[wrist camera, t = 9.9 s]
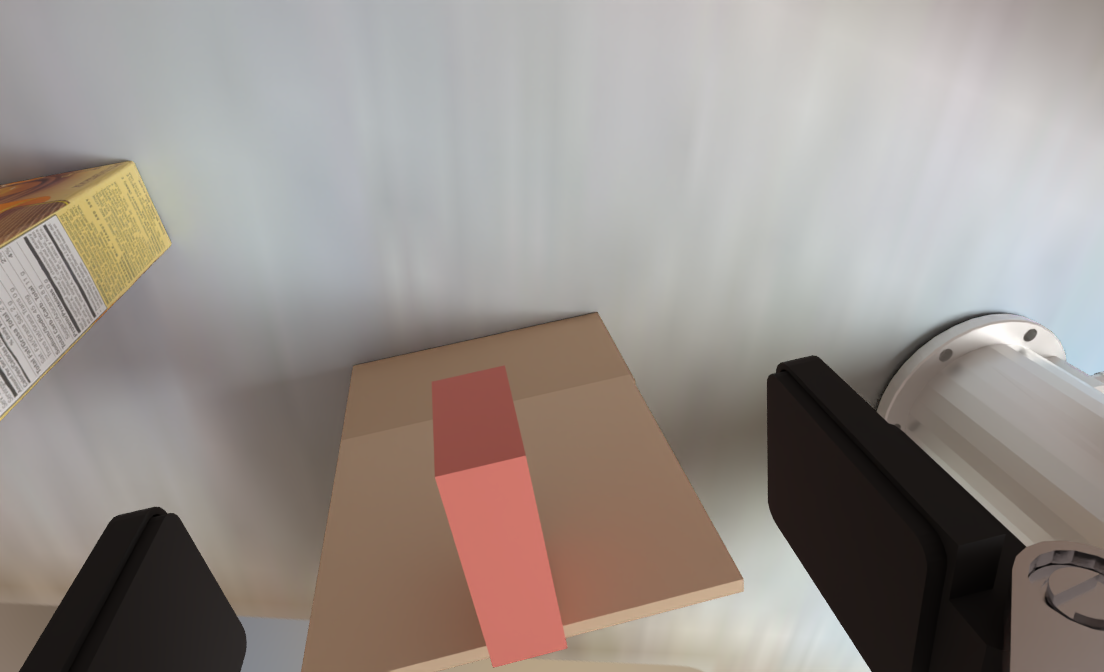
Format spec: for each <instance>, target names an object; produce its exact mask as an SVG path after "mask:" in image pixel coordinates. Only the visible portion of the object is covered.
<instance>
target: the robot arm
mask: <svg viewBox="0 0 1104 672" xmlns="http://www.w3.org/2000/svg"><path fill="white" fill-rule="evenodd" d="M767 445H768V504H769V508H770V512H771V515H772V517H773V519H774V521H775V523H776V524H777V526H778V528H779V529H780V531H781V532H782V534H783V535H784V537H785V538H786V540H787V541H788V543H789V545H790V546H791V548H792V549H793V551H794V552H795V554H796V555H797V557H798V558H799V560H800V562H801V563H802V565H803V566H804V568H805V569H806V571H807V572H808V574H809V575H810V577H811V579H812V580H813V582H814V583H815V585H816V586H817V588H818V589H819V591H820V592H821V594H822V596H823V597H824V599H825V600H826V602H827V603H828V605H829V606H830V608H831V610H832V611H833V613H834V614H835V616H836V617H837V619H838V620H839V622H840V623H841V625H842V627H843V628H844V630H845V631H846V633H847V634H848V636H849V637H850V639H851V640H852V642H853V644H854V645H855V647H856V648H857V650H858V651H859V653H860V654H861V656H862V657H863V659H864V661H865V662H866V664H867V665H868V667H869V668H870V670H871V671H872V672H1104V371H1103V372H1099V373H1095V374H1094V375H1091V376H1090V375H1088V374H1086V373H1085V372H1083V371H1081V370H1079V369H1078V368H1076V367H1074V366H1073V365H1071V364H1069V363H1067V362H1066V354H1065V351H1064V349H1063V346H1062V344H1061V342H1060V340H1059V339H1058V338H1057V337H1056V336H1055V334H1054V333H1053V332H1052V331H1050V330H1049V329H1047V328H1045V327H1044V326H1042V325H1041V324H1039V323H1037V322H1035V321H1033V320H1031V319H1028V318H1026V317H1024V316H1019V315H1013V314H990V315H986V316H982V317H978V318H973V319H970V320H968V321H965V322H963V323H960V324H958V325H955V326H953V327H951V328H950V329H948V330H946V331H944V332H943V333H941V334H939V335H937V336H936V337H934V338H933V339H931V340H930V341H929V342H927V343H926V344H925V345H924V346H922V347H921V348H920V349H918V350H917V351H916V352H915V353H914V354H913V355H912V356H911V357H910V358H909V359H908V360H907V361H906V362H905V363H904V364H903V365H902V367H901V368H900V369H899V371H898V372H897V373H896V374H895V376H894V377H893V378H892V380H891V381H890V383H889V385H888V387H887V388H886V390H885V392H884V394H883V395H882V398H881V401H880V403H879V406H878V409H877V412H876V411H875V410H874V409H873V408H872V407H871V406H870V405H869V404H868V403H867V402H866V401H865V400H864V399H863V398H861V397H860V396H859V395H858V394H857V393H856V392H855V391H854V390H853V389H852V388H851V387H850V386H849V385H848V384H847V383H846V382H845V381H843V380H842V379H841V378H840V377H839V376H838V375H837V374H836V373H835V372H834V371H833V370H832V369H831V368H830V367H829V366H828V365H827V364H826V363H824V362H823V361H822V360H821V359H820V358H819V357H817V356H813V355H812V356H808V357H804V358H799V359H795V360H791V361H786V362H782V363H780V364H778V366H777V369H776V373H774V374H770V375H769V376H768V379H767ZM245 652H246V634H245V631H244V628H243V626H242V624H241V622H240V621H239V619H238V617H237V616H236V614H235V612H234V610H233V609H232V607H231V605H230V604H229V602H228V600H227V598H226V597H225V595H224V593H223V592H222V590H221V588H220V586H219V585H218V583H217V581H216V580H215V578H214V576H213V574H212V573H211V571H210V569H209V568H208V566H207V564H206V562H205V561H204V559H203V557H202V556H201V554H200V552H199V550H198V549H197V547H196V545H195V544H194V542H193V540H192V538H191V537H190V535H189V533H188V532H187V530H186V528H185V527H184V525H183V523H182V521H181V520H180V518H179V517H178V516H177V515H176V514H174V513H169V514H167V513H166V511H165V510H163V509H162V508H160V507H152V508H148V509H143V510H139V511H134V512H130V513H126V514H121V515H118V516H116V517H114V518H113V519H112V520H111V521H110V522H109V524H108V525H107V527H106V529H105V530H104V532H103V534H102V535H101V537H100V539H99V540H98V542H97V544H96V545H95V547H94V549H93V550H92V552H91V554H90V555H89V557H88V559H87V560H86V562H85V563H84V565H83V567H82V568H81V570H80V572H79V573H78V575H77V577H76V578H75V580H74V582H73V583H72V585H71V587H70V588H69V590H68V592H67V593H66V595H65V597H64V598H63V600H62V602H61V603H60V605H59V606H58V608H57V610H56V611H55V613H54V615H53V617H52V618H51V620H50V621H49V623H48V625H47V627H46V628H45V630H44V632H43V633H42V635H41V636H40V638H39V640H38V641H37V643H36V645H35V646H34V648H33V650H32V651H31V653H30V654H29V656H28V658H27V660H26V661H25V663H24V665H23V666H22V668H21V669H20V671H19V672H240V671H241V667H242V664H243V660H244V657H245Z"/></svg>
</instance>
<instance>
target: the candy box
mask: <svg viewBox="0 0 1104 672" xmlns="http://www.w3.org/2000/svg"><path fill="white" fill-rule="evenodd" d="M170 246H171V241H170V239H169V237H168V235H167V233H166V231H165V229H164V226H163V224H162V222H161V220H160V218H159V216H158V214H157V211H156V209H155V207H154V205H153V203H152V201H151V199H150V196H149V194H148V192H147V190H146V188H145V185H144V183H143V181H142V179H141V177H140V174H139V172H138V170H137V168H136V166H135V163H134V162H133V161H127V162H122V163H116V164H111V165H106V166H100V167H95V168H89V169H84V170H78V171H72V172H67V173H61V174H56V175H50V176H45V177H40V178H35V179H30V180H25V181H19V182H14V183H9V184H4V185H0V421H1V420H2V419H3V418H4V417H5V416H6V415H7V414H8V412H9V411H10V410H11V409H12V408H13V407H14V406H15V405H16V404H17V403H18V402H19V401H20V400H21V399H22V398H23V397H24V396H25V395H26V394H27V393H28V392H29V391H30V390H31V389H32V388H33V387H34V386H35V385H36V384H37V383H38V381H39V380H40V379H41V378H42V377H43V376H44V375H45V374H46V373H47V372H48V371H49V370H50V369H51V368H52V367H53V366H54V365H55V364H56V363H57V362H58V361H59V360H60V359H61V358H62V357H63V356H64V355H65V354H66V353H67V352H68V351H69V350H70V349H71V348H72V347H73V346H74V345H75V344H76V343H77V342H78V340H79V339H80V338H81V337H82V336H83V335H84V334H85V333H86V332H87V331H88V330H89V329H90V328H91V327H92V326H93V325H94V323H95V322H96V321H97V320H99V319H100V318H101V317H102V315H103V314H104V313H105V312H106V311H107V310H108V309H109V308H110V307H111V306H112V305H113V304H114V303H115V302H116V301H117V300H118V299H119V298H120V297H121V296H122V295H123V294H124V293H125V292H126V291H127V290H128V289H129V288H130V287H131V286H132V285H133V284H134V283H135V282H136V281H137V280H138V279H139V278H140V276H141V275H142V274H143V273H145V271H146V270H147V269H148V268H149V267H150V266H151V265H152V264H153V263H154V262H155V261H156V260H157V259H158V258H159V257H160V256H161V255H162V254H163V253H164V252H165V251H166V250H167V249H168V248H169V247H170Z"/></svg>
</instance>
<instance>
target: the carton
mask: <svg viewBox="0 0 1104 672" xmlns="http://www.w3.org/2000/svg"><path fill="white" fill-rule="evenodd" d="M504 365H505V368H506V372H507V377H508V381H509V385H510V390H511V394H512V398H513V401H516V400H520V399H525V398H529V397H533V396H538V395H542V394H547V393H551V392H555V391H560V390H564V389H568V388H573V387H577V386H581V385H586V384H590V383H595V382H599V381H603V380H608V379H612V378H616V377H621V376H625V375H630V376H631V377H632V379H633V381H634V383H635V379H634V378H633V376H632V374H631V372H630V370H629V368H628V367H627V365H626V363H625V361H624V359H623V358H622V356H621V354H620V352H619V350H618V349H617V347H616V345H615V343H614V341H613V339H612V338H611V336H610V334H609V332H608V330H607V329H606V327H605V325H604V323H603V321H602V319H601V318H600V316H599V314H598V312H596V313H591V314H586V315H582V316H577V317H573V318H568V319H564V320H559V321H555V322H550V323H546V324H541V325H536V326H532V327H527V328H523V329H518V330H514V331H509V332H505V333H500V334H495V335H491V336H486V337H482V338H477V339H473V340H468V341H464V342H459V343H454V344H450V345H445V346H441V347H436V348H432V349H427V350H423V351H418V352H414V353H409V354H404V355H400V356H395V357H391V358H386V359H382V360H377V361H373V362H368V363H363V364H359V365H354V366H353V369H352V375H351V382H350V388H349V394H348V400H347V406H346V412H345V418H344V424H343V431H342V437H341V440H346V439H350V438H354V437H359V436H363V435H367V434H372V433H376V432H380V431H385V430H389V429H394V428H398V427H402V426H407V425H411V424H415V423H420V422H424V421H429V420H433V411H432V382H433V381H437V380H442V379H446V378H451V377H455V376H460V375H464V374H468V373H473V372H477V371H482V370H486V369H491V368H495V367H500V366H504ZM635 385H636V383H635ZM340 444H341V443H340Z"/></svg>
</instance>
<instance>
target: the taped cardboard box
mask: <svg viewBox="0 0 1104 672" xmlns="http://www.w3.org/2000/svg"><path fill="white" fill-rule="evenodd" d="M432 411H433V420H429V421H424V422H420V423H415V424H411V425H407V426H402V427H398V428H394V429H389V430H385V431H380V432H376V433H372V434H367V435H363V436H359V437H354V438H350V439H346V440H341V444H340V449H339V455H338V461H337V467H336V473H335V478H334V484H333V490H332V496H331V502H330V507H329V513H328V519H327V525H326V530H325V536H324V542H323V548H322V554H321V559H320V565H319V571H318V577H317V583H316V588H315V594H314V600H313V606H312V612H311V617H310V623H309V629H308V635H307V641H306V647H305V652H304V658H303V664H302V670H301V672H437V671H441V670H445V669H448V668H452V667H456V666H460V665H464V664H468V663H471V662H475V661H479V660H483V659H487V658H490V659H491V662H492V666H493V667H497V666H502V665H505V664H509V663H513V662H517V661H521V660H525V659H528V658H532V657H536V656H540V655H544V654H547V653H551V652H555V651H559V650H563V649H566V648H567V643H566V639H565V638H567V637H571V636H575V635H578V634H582V633H586V632H590V631H594V630H598V629H601V628H605V627H609V626H613V625H617V624H621V623H624V622H628V621H632V620H636V619H640V618H644V617H647V616H651V615H655V614H659V613H663V612H666V611H670V610H674V609H678V608H682V607H686V606H689V605H693V604H697V603H701V602H705V601H709V600H712V599H716V598H720V597H724V596H728V595H731V594H735V593H739V592H743V591H744V582H743V577H742V576H741V574H740V572H739V570H738V568H737V567H736V565H735V563H734V561H733V559H732V558H731V556H730V554H729V552H728V550H727V549H726V547H725V545H724V543H723V541H722V540H721V538H720V536H719V534H718V532H717V531H716V529H715V527H714V525H713V523H712V522H711V520H710V518H709V516H708V514H707V513H706V511H705V509H704V507H703V505H702V504H701V502H700V500H699V498H698V496H697V495H696V493H695V491H694V489H693V487H692V486H691V484H690V482H689V480H688V478H687V477H686V475H685V473H684V471H683V469H682V468H681V466H680V464H679V462H678V460H677V459H676V457H675V455H674V453H673V451H672V450H671V448H670V446H669V444H668V442H667V441H666V439H665V437H664V435H663V433H662V431H661V430H660V428H659V426H658V424H657V422H656V421H655V419H654V417H653V415H652V413H651V412H650V410H649V408H648V406H647V404H646V403H645V401H644V399H643V397H642V395H641V394H640V392H639V390H638V388H637V386H636V385H635V383H634V381H633V379H632V377H631V376H630V375H625V376H621V377H616V378H612V379H608V380H603V381H599V382H595V383H590V384H586V385H581V386H577V387H573V388H568V389H564V390H560V391H555V392H551V393H547V394H542V395H538V396H533V397H529V398H525V399H520V400H516V401H513V398H512V394H511V390H510V385H509V381H508V377H507V372H506V368H505V365H504V366H500V367H495V368H491V369H486V370H482V371H477V372H473V373H468V374H464V375H460V376H455V377H451V378H446V379H442V380H437V381H433V382H432Z"/></svg>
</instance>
